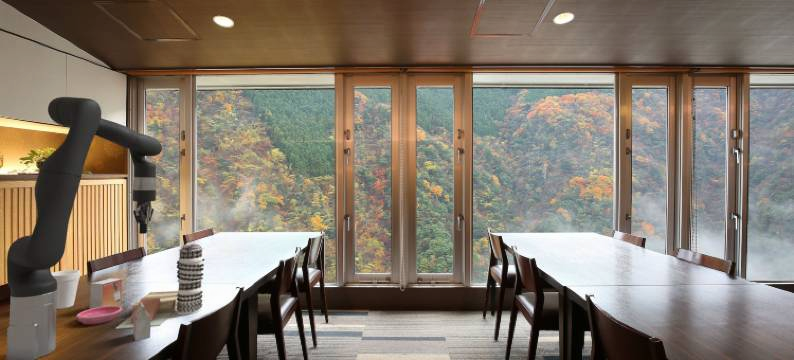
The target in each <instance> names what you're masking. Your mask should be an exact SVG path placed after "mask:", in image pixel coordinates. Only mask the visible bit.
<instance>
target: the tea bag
mask: <svg viewBox="0 0 794 360" xmlns="http://www.w3.org/2000/svg"><path fill="white" fill-rule="evenodd" d="M150 325H151V319H150V317H149V315H148V313H147V312H146V310H145V308H144V306H143V304H142V302H140V304H139V306H138V308H137V310H136V312H135V314H134V316H133V328H132V336H133V338H134V341H135V342H137V341H141V340H142V341H143V340H146V339H150V338H151V326H150Z"/></svg>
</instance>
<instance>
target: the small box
mask: <svg viewBox="0 0 794 360" xmlns="http://www.w3.org/2000/svg"><path fill="white" fill-rule="evenodd" d="M122 288H123V280H122V278H111V277H110V278H107V279H103V280H99V281H95V282H90V297H89V309H93V308H97V307H104V306H120V307H122V292H123V291H122Z"/></svg>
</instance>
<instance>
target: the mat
mask: <svg viewBox="0 0 794 360" xmlns="http://www.w3.org/2000/svg"><path fill="white" fill-rule="evenodd" d="M172 315H173V313H159V314H155V316H154V318H153V320H152V321H151V325H150V327H158V326H161V325H162V324H163V323H164V322H166V321H167V319H168V318H170V316H172ZM121 329H122V330H123V329H133V323H132V322H131V316H129V317H128V318H126V319H125V320H124V321H123V322H121V323H120V324H119V325H118V326H116V327H115V330H121Z"/></svg>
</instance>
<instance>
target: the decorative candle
mask: <svg viewBox="0 0 794 360" xmlns="http://www.w3.org/2000/svg"><path fill="white" fill-rule="evenodd" d="M203 250H204V247H201V245H200V244H185V245H182V247H181V249H179V250H178V251H179V257H178V260H177V261H176V268H177V269H178V270H176V278H177V283H178V289H177V291H178V294H177V296H178V298H177V300H178V302H177V309H176V314H177V315H181V316H183V315H184V316H185V315H186V316H187V315H194V314H197V313H199V312H201V311H203V304H202V303H203V299H202V298H203V295H202V294H203V290H202V289H203V287H202V280H203V279H204V277H202V276H204V273H203V271H204V266H205V263H202V262H204V261H205V258H203Z"/></svg>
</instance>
